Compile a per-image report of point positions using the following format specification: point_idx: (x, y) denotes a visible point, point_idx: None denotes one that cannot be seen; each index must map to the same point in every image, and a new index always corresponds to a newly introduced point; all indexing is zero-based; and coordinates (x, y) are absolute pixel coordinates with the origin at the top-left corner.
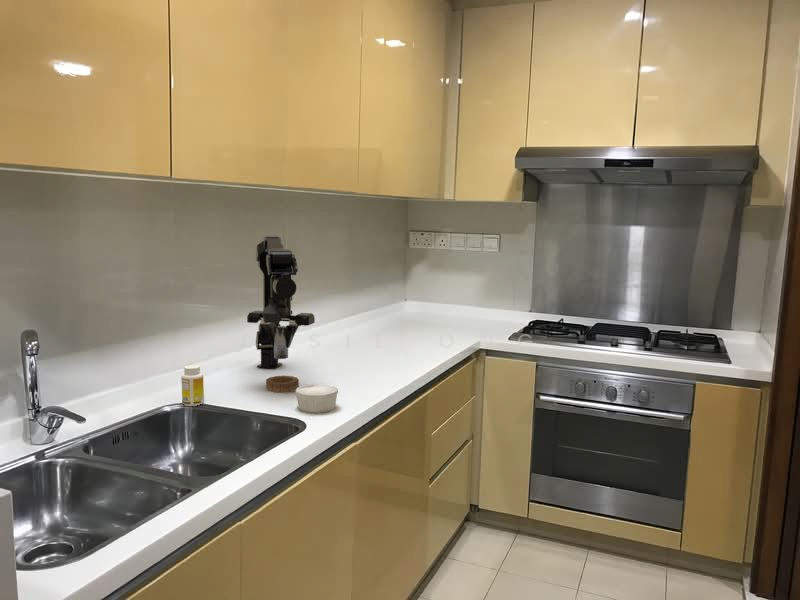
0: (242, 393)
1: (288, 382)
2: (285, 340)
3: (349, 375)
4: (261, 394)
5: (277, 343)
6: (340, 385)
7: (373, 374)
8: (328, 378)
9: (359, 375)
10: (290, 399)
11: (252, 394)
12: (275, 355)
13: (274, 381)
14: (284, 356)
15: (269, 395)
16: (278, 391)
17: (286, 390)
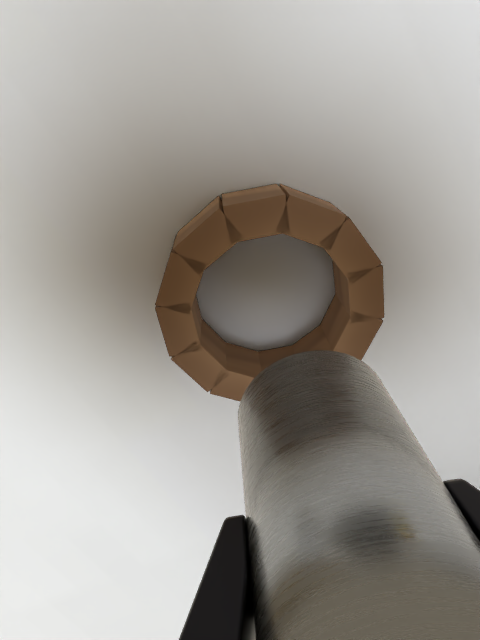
0: (464, 43)
1: (189, 268)
2: (264, 617)
3: (93, 590)
4: (317, 86)
5: (381, 501)
6: (7, 460)
7: (13, 632)
8: (147, 525)
9: (54, 604)
10: (46, 59)
11: (380, 53)
12: (358, 373)
13: (338, 314)
14: (251, 402)
15: (249, 89)
16: (234, 192)
17: (188, 223)
